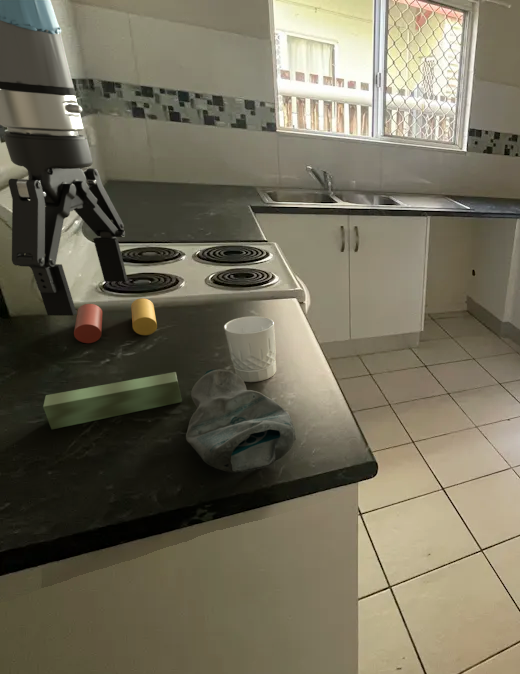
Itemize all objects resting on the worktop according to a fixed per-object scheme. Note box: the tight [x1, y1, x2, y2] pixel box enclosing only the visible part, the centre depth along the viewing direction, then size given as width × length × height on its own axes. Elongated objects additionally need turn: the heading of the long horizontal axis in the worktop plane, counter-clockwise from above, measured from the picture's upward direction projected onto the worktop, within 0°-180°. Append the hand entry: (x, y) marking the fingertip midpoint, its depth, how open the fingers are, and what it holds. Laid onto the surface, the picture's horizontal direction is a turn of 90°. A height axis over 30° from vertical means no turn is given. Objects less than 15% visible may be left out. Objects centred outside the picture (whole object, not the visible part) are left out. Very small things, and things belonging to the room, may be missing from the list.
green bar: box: [42, 371, 183, 430], centre depth 74 cm, size 16×4×4 cm, turn 127°
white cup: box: [223, 315, 277, 383], centre depth 86 cm, size 8×8×10 cm
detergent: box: [185, 368, 297, 474], centre depth 71 cm, size 13×7×25 cm
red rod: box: [73, 303, 103, 344], centre depth 96 cm, size 12×4×4 cm, turn 37°
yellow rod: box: [130, 297, 158, 336], centre depth 101 cm, size 12×4×4 cm, turn 37°
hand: (91, 296), depth 66 cm, fingers open, 13 cm apart
